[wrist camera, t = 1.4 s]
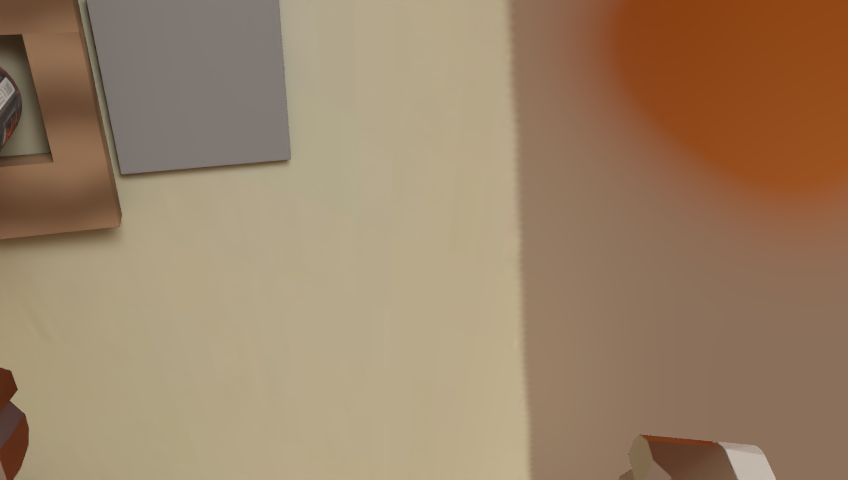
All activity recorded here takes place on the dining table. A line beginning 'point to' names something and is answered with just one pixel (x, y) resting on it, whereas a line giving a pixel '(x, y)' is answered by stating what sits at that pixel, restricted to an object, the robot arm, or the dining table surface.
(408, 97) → the dining table surface
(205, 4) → the slate-grey rubber mat
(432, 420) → the dining table surface
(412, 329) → the dining table surface
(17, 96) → the supplement bottle
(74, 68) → the walnut dock board
